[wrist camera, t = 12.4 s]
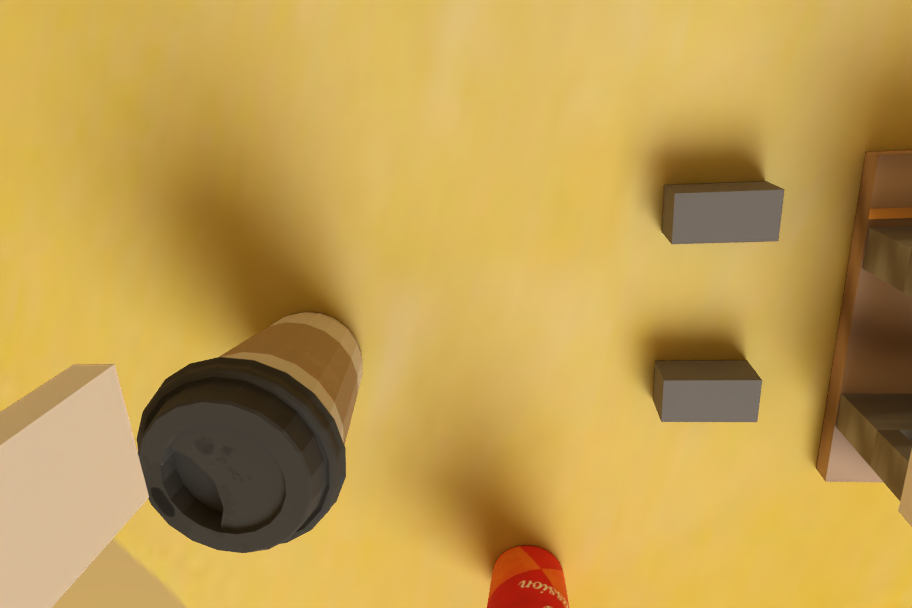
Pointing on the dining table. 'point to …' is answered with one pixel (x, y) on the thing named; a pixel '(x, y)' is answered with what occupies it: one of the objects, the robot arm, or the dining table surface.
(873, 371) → the dark grey notched piece
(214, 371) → the coffee cup
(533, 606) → the paper cup
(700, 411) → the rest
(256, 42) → the dining table surface
